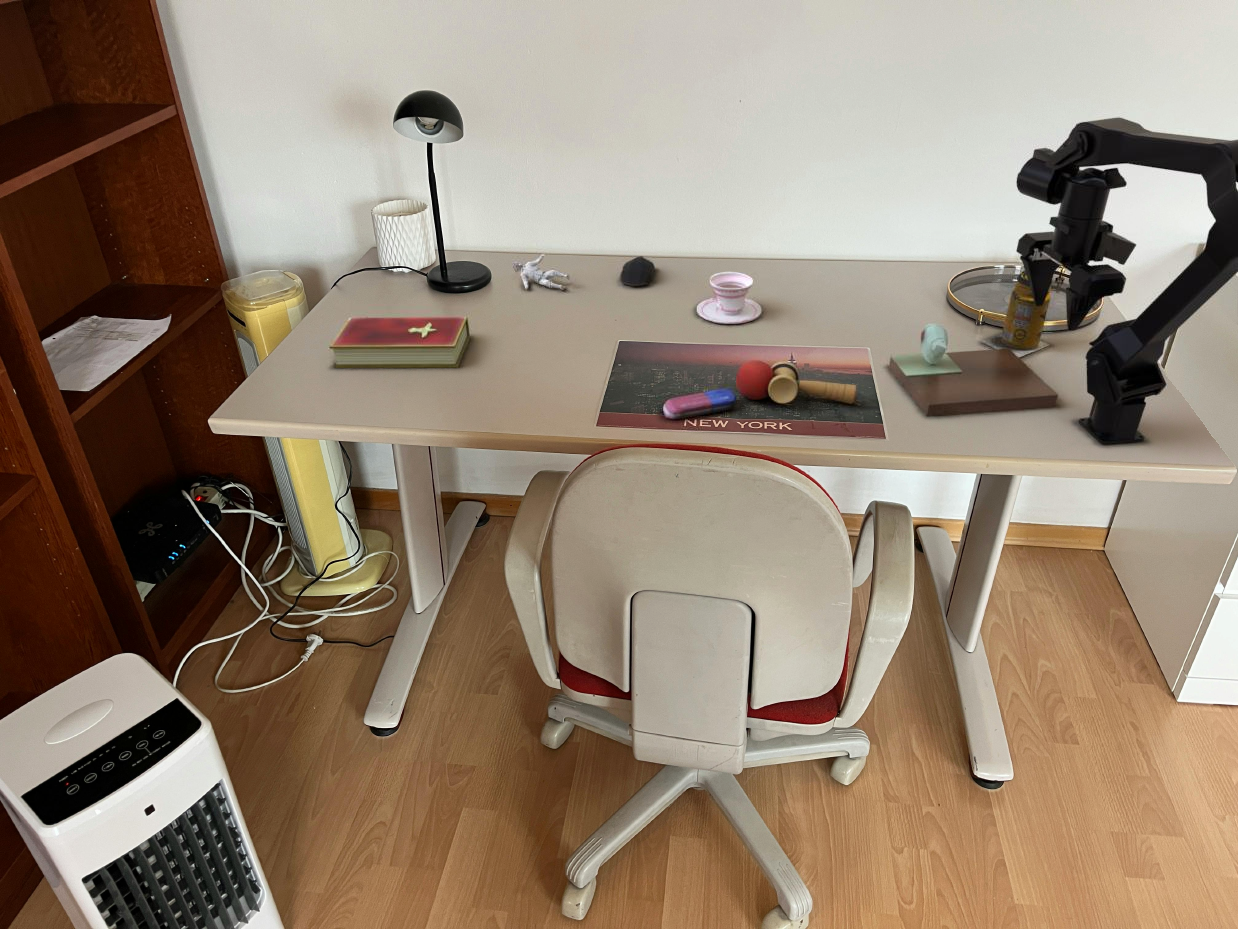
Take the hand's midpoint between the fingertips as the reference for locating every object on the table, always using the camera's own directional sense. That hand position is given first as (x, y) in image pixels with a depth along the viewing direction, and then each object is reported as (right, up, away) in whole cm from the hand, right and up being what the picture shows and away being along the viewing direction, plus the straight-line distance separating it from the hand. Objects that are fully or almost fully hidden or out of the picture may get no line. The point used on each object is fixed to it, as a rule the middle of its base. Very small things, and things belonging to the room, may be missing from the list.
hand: (1054, 317), depth 135 cm
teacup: (-44, +6, +33) cm, 56 cm away
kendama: (-38, -12, +5) cm, 40 cm away
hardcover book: (-102, -3, +22) cm, 105 cm away
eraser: (-53, -14, +3) cm, 54 cm away
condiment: (+3, -2, +19) cm, 20 cm away
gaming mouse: (-61, +17, +50) cm, 80 cm away
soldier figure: (-80, +14, +47) cm, 94 cm away
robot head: (-15, -6, +9) cm, 19 cm away
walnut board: (-10, -10, +7) cm, 16 cm away
